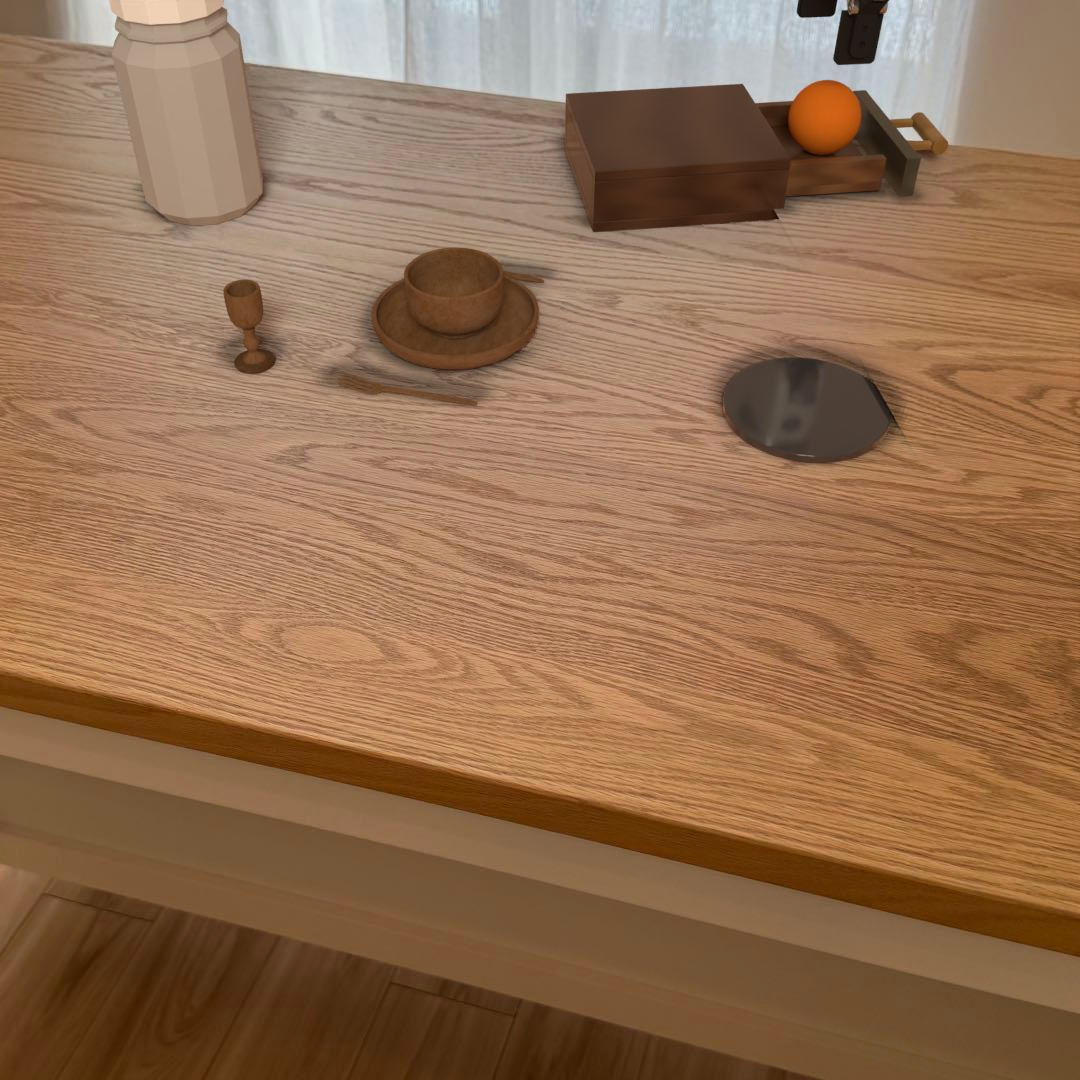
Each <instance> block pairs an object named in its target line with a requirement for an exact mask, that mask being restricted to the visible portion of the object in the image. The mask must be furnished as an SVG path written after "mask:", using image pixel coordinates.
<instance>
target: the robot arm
mask: <svg viewBox="0 0 1080 1080" xmlns="http://www.w3.org/2000/svg"><path fill="white" fill-rule="evenodd" d="M889 1H890V0H846V9H841V11H840V12H841V13H840V18H839V23H838V29H837V34H836V38H835V46H834V52H833V55H832V56H833V57H832V60H833V62H834V63H835V64H836V65H837V66H851V65H852V66H853V65H871V64H873V63H874V62H875V60H876V55H877V49H878V45H879V40H880V36H881V30H882V26H883V21H884V17H885V16H884V15H885V14H886V13H887V10H888V8H889ZM837 5H838V0H797V6H796V14H797V16H798V17H799V18H801V19H808V18H809V19H810V18H811V19H812V18H831V17H833V16H834V15H835V14H836V11H837Z"/></svg>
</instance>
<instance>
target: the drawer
mask: <svg viewBox="0 0 1080 1080" xmlns="http://www.w3.org/2000/svg"><path fill="white" fill-rule="evenodd" d="M852 91H853V92H854V94H855V95H856V97H857V99H858V100H859V104H860V107H861V123H860V127H859V129H858V132H857V134H856V136H855V137H854V139H855V140H856V141H857V142H858V144H859V145H860V147H861V148H862V149H863V150H864V152H865V153H866V155H863V154H862V152H861V151H860V150H859V148H858V147H857V146H856V144H855V143H854V141H853V140H852V141H851V142H850V143H849V144H848V145H847V146H846V147H845V148H843V149H842V150H840V151H838V152H836V153H833V154H829V155H815V154H811V153H809V152H807V151H805V150H803V149H802V148H801V147H800V146H798V145H797V143H796V142H795V141H794V139H793V137H792V135H791V133H790V130H789V125H788V117H789V111H790V107H791V105H792V103H793V101H794V100H785V101H783V100H782V101H767V102H755V104H756V105H757V107H758V108H759V110H760V111H761V113H762V114H763V116H764V118H765V119H766V121H767V122H768V124H769V125H770V127H771V128H772V130H773V132H774V133H775V135H776V136H777V138H778V139H779V141H780V143H781V144H782V146H783V147H784V149H785V150H786V152H787V153H788V155H789V157H790V158H791V163H790V171H789V177H788V184H787V191H786V197H797V196H812V195H827V194H844V193H857V192H858V193H859V192H873V191H881V187H882V182H883V178H884V179H885V180H886V181H887V183H888V184H889V186H890V187H891V188H892V190H893V191H894V192H895V194H896V195H897V196H898V198H904V197H905V198H906V197H913V196H914V192H915V187H916V182H917V178H918V173H919V169H920V166H921V159H922V157H921V156H920V155H919V153H918V152H917V151H929V150H930V151H932V153H933V154H935V155H943V154H944V153H945V152H946V151H947V150H948V148H949V141H948V140H947V139H946V137H945V136H944V135H943V134H942V132H940V131H939V129H938V128H937V127H936V126H935V125H934V123H932V121H931V120H930V119H929V118H928V116H927V115H926V114H925V113H923V112H921V111H919V112H918V111H917V112H916V113H914V114H913V115H911V117H909V118H908V117H907V118H891V119H890V118H889V117H888V116H887V114H886V113H885V112H884V111H883V110H882V108H881V107H880V105H878V103H877V102H876V101H875V99H874V98H873V97H872V96H871V95H870V94H869V92H868V91H867V90H866V89H862V90H861V89H860V90H852ZM901 128H902V129H903V128H912V129H913V130H914V131H915V132H916V133H917V135H918V136H919V138H920V139H922V140H910V141H908V140H907V139H906V138H905V136H903V134H902V133H901V132H900V131H899V129H901Z"/></svg>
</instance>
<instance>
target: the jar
mask: <svg viewBox="0 0 1080 1080" xmlns="http://www.w3.org/2000/svg"><path fill="white" fill-rule="evenodd" d="M224 1H225V0H108V2H109V6H110V11H111V13H112V14H113V15H116V19H115V22H114V30H115V31H116V32H118V33H117V35H116V37H115V39H114V41H113V46H112V50H111V58H112V63H113V66H114V70H115V75H116V79H117V84H118V88H119V92H120V96H121V101H122V105H123V111H124V114H125V117H126V122H127V127H128V131H129V134H130V139H131V143H132V148H133V152H134V156H135V160H136V161H135V162H136V165H137V169H138V173H139V178H140V183H141V187H142V192H143V195H144V201H145V202H146V203H147V204H148V205H150V206H151V207H152V208H154V210H156V211H157V212H158V213H159V214H161V215H162V216H163V217H164V218H166V219H167V220H168V221H169V222H172V223H178V224H183V225H188V226H191V227H194V226H207V225H209V226H210V225H220V224H222V223H225V222H228V221H231V220H234V219H237V218H240V217H242V216H243V215H245V214H246V213H247V212H248V211H250V209H252V208H253V207H254V206H255V205H256V203H258V201H259V200H260V197H261V196H262V195H263V193H264V177H263V171H262V165H261V159H260V158H261V157H260V152H259V147H258V140H257V134H256V128H255V122H254V115H253V109H252V103H251V97H250V90H249V84H248V78H247V71H246V66H245V59H244V54H243V46H242V40H241V34H240V33H239V32H238V31H237V30H236V28H234V26H232V25H231V23H229V22H228V9H227V8H225V7H224V4H225V3H224Z"/></svg>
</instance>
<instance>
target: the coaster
mask: <svg viewBox="0 0 1080 1080" xmlns="http://www.w3.org/2000/svg"><path fill="white" fill-rule="evenodd" d="M722 413H723V416H724V417H725V420H726V423H727V424H728V426H729V427H730V429H732V431H733V432H734V433H735V434H736V435H737V436H738V437H739V438H740V439H742V440H743V441H744V442H745V443H747V444H749V445H750V446H752V447H753V448H755V449H757V450H759V451H761V452H763V453H766V454H769V455H772V456H774V457H776V458H781V459H783V460H787V461H794V462H798V463H807V464H830V463H831V464H832V463H839V462H845V461H849V460H852V459H855V458H858V457H860V456H863V455H866V454H867V453H870V452H871V451H873V450H874V449H875V448H877V446H878V445H879V444H880V443H882V441H884V439H885V437H886V436H887V433H888V432H889V428H890V424H891V420H892V411H891V409H890V407H889V405H888V403H887V402H886V400H885V398H884V397H883V395H882V392H881V391H880V390H879V387H878V386H877V385H876V384H875V383H874V382H872V381H871V380H870V379H869V378H868V377H866V376H864V375H863V374H861V373H859V372H857V371H855V370H854V369H851V368H849V367H846V366H844V365H841V364H838V363H835V362H831V361H828V360H823V359H818V358H810V357H799V356H797V357H795V356H794V357H793V356H791V357H790V356H789V357H778V358H770V359H766V360H762V361H759V362H756V363H753V364H750V365H749V366H747V367H745V368H743V369H742V370H739V372H737V373H736V374H735V375H733V376H732V378H731V379H730V380H729V381H728V383H727V385H726V386H725V389H724V391H723V397H722Z"/></svg>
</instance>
